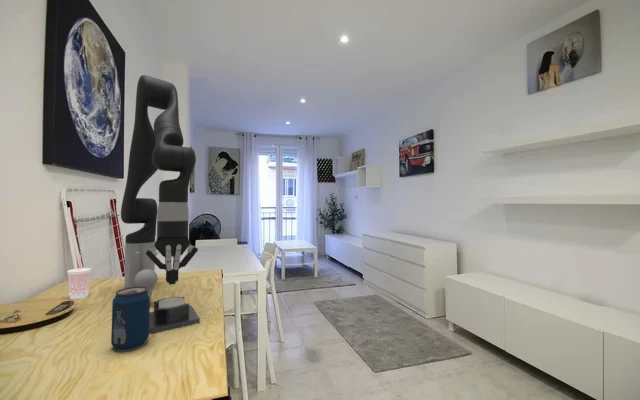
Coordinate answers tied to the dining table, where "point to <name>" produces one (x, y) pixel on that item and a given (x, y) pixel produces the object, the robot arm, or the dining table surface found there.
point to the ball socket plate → (171, 317)
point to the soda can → (130, 318)
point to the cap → (171, 302)
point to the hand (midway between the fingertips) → (171, 283)
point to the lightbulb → (146, 280)
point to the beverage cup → (79, 281)
